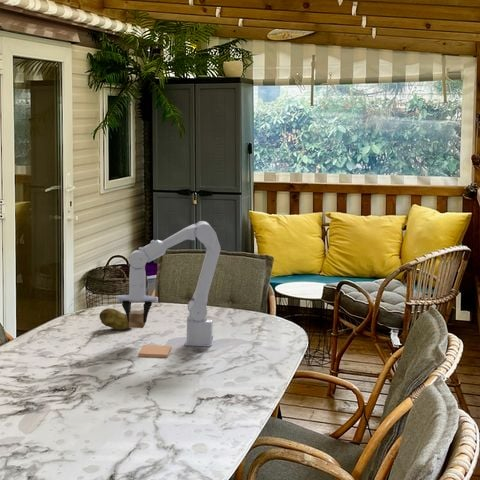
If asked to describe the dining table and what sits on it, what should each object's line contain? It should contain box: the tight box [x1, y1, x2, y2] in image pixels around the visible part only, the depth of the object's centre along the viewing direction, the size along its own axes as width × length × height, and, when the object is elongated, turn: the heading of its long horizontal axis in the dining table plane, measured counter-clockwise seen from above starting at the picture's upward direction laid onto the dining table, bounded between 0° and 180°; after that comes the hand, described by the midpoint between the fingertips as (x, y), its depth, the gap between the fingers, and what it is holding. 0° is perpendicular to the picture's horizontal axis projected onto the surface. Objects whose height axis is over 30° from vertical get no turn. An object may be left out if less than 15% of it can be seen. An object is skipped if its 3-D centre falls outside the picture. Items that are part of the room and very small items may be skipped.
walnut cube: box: [128, 309, 146, 329], centre depth 265 cm, size 5×5×5 cm
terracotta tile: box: [137, 344, 172, 358], centre depth 258 cm, size 10×10×1 cm
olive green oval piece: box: [98, 308, 130, 331], centre depth 284 cm, size 8×13×8 cm, turn 90°
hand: (137, 321), depth 266 cm, fingers closed on walnut cube, 5 cm apart
